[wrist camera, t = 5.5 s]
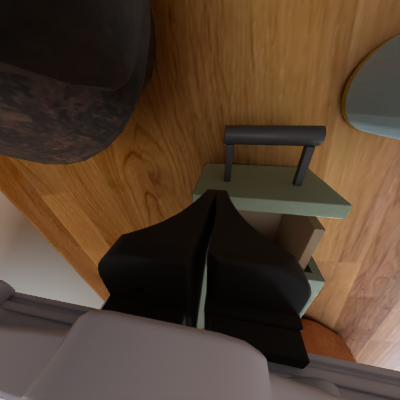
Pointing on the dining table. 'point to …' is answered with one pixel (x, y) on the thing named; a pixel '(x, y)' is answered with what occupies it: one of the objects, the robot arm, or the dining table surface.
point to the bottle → (375, 92)
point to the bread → (324, 341)
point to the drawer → (277, 188)
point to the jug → (70, 75)
